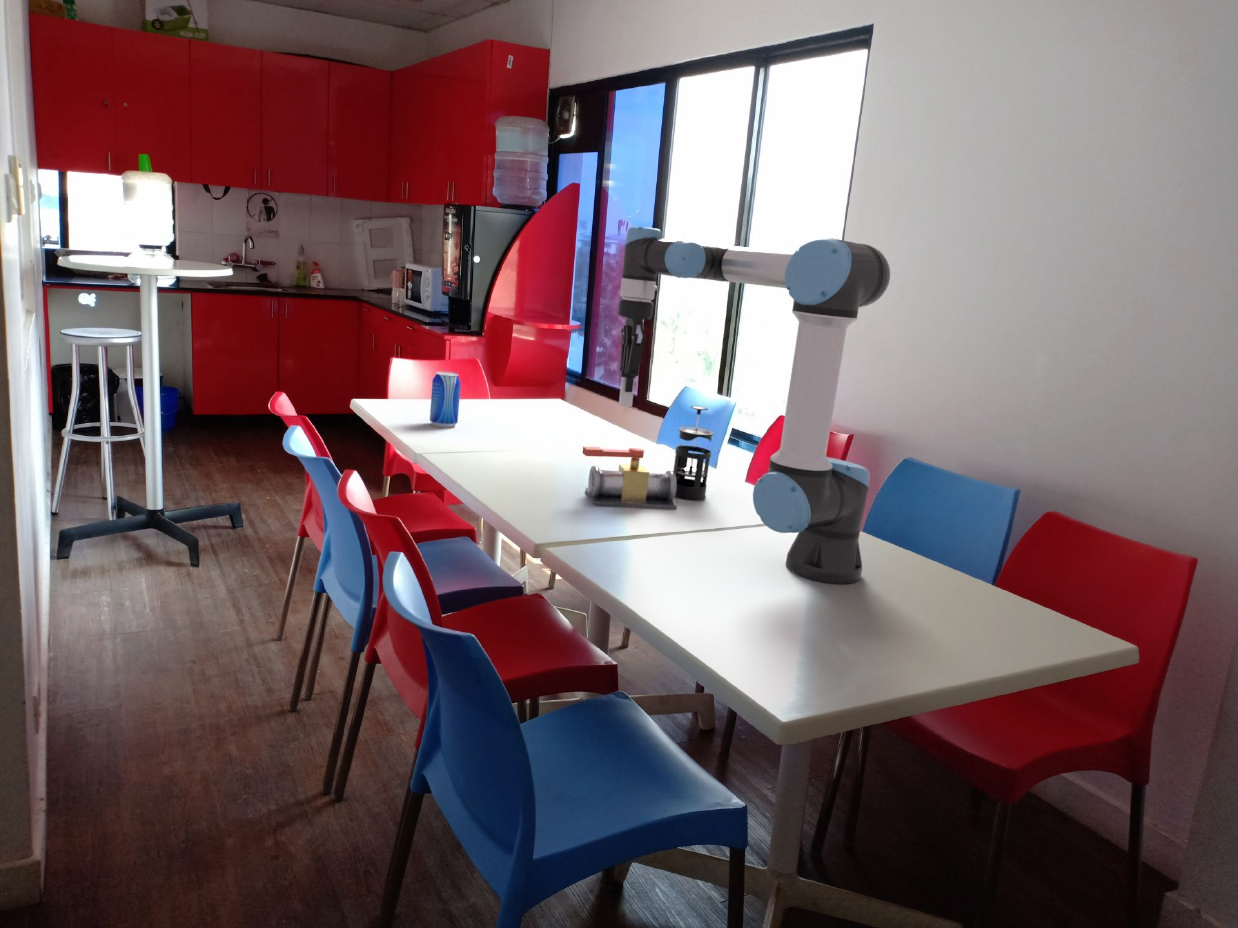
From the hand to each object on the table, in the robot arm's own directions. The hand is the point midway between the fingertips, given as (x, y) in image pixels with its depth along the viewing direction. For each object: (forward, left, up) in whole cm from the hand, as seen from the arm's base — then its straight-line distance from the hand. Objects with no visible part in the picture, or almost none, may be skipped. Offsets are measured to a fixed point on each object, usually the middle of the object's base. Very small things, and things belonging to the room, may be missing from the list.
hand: (625, 405), depth 208 cm
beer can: (+83, +36, -25) cm, 93 cm away
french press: (+17, -23, -25) cm, 38 cm away
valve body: (+9, -6, -25) cm, 27 cm away
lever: (+9, -1, -14) cm, 16 cm away
